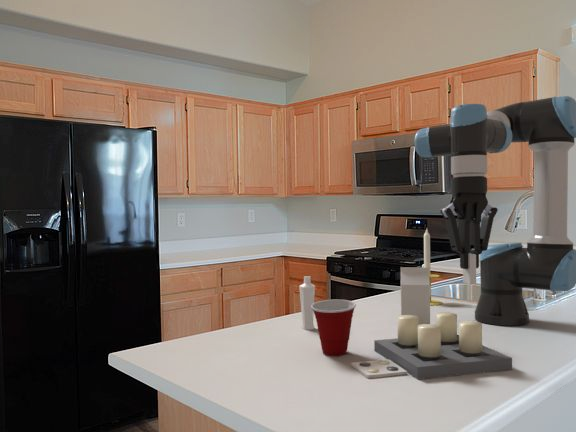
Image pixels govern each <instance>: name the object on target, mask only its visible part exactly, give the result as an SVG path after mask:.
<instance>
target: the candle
mask: <svg viewBox="0 0 576 432" xmlns="http://www.w3.org/2000/svg"><path fill="white" fill-rule="evenodd" d="M423 268H429V281H430V307H434V305H436V306H440V305H442V304H443V302H442V301H441V300H436V299H432V279H438V278H440V275H439V274H433V273H431V235H430V233H429V230H428V228H426V230H425V232H424V234H423Z"/></svg>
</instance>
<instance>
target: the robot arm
mask: <svg viewBox="0 0 576 432" xmlns="http://www.w3.org/2000/svg"><path fill="white" fill-rule="evenodd" d="M575 139H576V100H575V99H574V98H573V97H572V96H569V95H566V96H563V95H562V96H552V97H547V98H543V99H542V98H540V99H535V100H530V101H522V102H516V103H511V104H509V105H506V106H502V107H500V108H497V109H493V110H489V111H488V110H487V106H486V105H484V104H482V103H465V104H459V105H456V106H454V107H453V108H452V109H451V110H450V122H449V123H446V124H442V125H437V126H436V125H435V126H428V127H424V128H420V129H418V130H417V131H416V134H415V136H414V149H415V151H416V154H417V155H419V157H421V158H437V157H438V158H439V157H446V156H450V174H451V175H452V176H453V177H452V178H451V179H450V193H451V199H450V201H449V204H448V205H447V206H445V207H442V208H440V211H439V212H440V214H441V215H442V217H443V218H444V222H445V226H446V231H447V235H448V240H449V243H450V244H449V245H450V247H451V251H453V252H456V253H458V254H459V267H460V269H462V283H463V284H466V285H471V286H473V285H477V269H479V267H480V269H479V271H480V272H479V273H480V295H479V298H478V301H477V304H476V307H475V309H474V319H475V320H476V322H480V323H482V324H488V325H493V326H494V325H495V326H514V327H515V326H523V325H528V324H529V323H530V314H529V311H528V308H527V305H526V302H525V299H524V297H523V295H524V294H523V289H531V290H532V289H533V290H543V291H550V292H568V291H571V290H572V289H573V288H574V287H575V285H576V249H574V242H573V241H571V239H570V238H568V192H569V191H568V187H569V186H568V185H569V184H568V183H569V182H568V181H569V151H570V149H572V148H573V147H574V146H575ZM526 142H527V143H528V145H527V146H528V148H529V149H530V150H531V151H532V152H533V207H532V208H533V209H532V211H533V213H532V214H533V216H532V217H533V222H532V227H533V229H532V233H533V234H532V237H530V239H528V241H527V242H526V245H527V246H526V247H523V243H522V242H510V243H509V242H508V243H498V244H490V245H489V242H490V238H491V233H492V227H493V223H494V218H495V216H496V215H497V213H498V208H497V206H496V207H493V206H492V205H490V204H489V201H488V198H487V192H488V178H487V177H486V176H485V175H487V174H488V154H500V153H502V152H504V151H506V150H507V149H508V148H509V147H510V145H511V144H512V143H526ZM455 214H456V216H457V217H456V216H455ZM482 214H483V215H482ZM456 218H457V219H456ZM475 320H474V321H475Z"/></svg>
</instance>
